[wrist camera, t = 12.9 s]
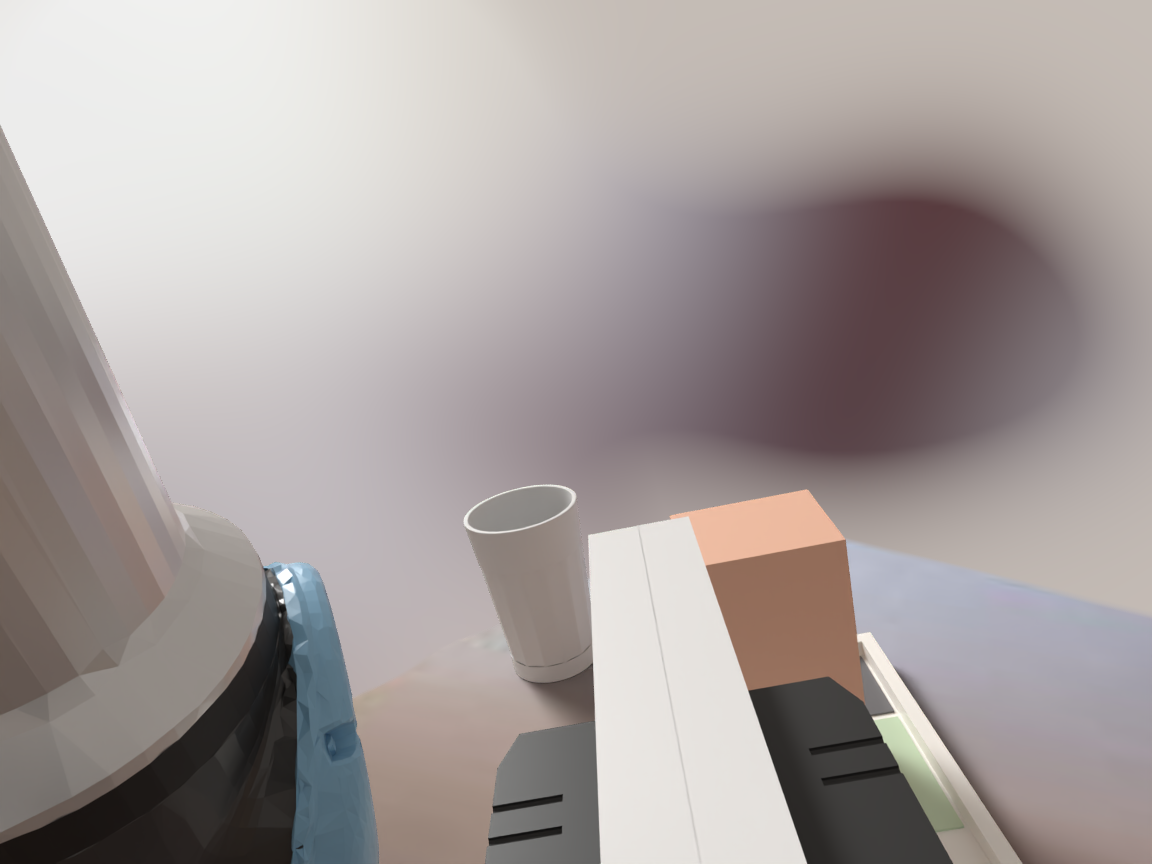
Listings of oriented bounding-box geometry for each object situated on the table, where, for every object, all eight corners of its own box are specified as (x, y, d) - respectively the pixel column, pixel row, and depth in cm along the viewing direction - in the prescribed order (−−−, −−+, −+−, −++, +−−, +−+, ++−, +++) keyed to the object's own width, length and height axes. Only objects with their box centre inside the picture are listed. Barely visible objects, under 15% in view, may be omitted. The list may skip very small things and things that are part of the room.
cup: (482, 665, 61) (442, 519, 57) (565, 616, 65) (533, 477, 62) (544, 704, 54) (504, 543, 51) (631, 647, 59) (599, 495, 55)
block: (732, 826, 39) (684, 569, 35) (712, 744, 45) (669, 515, 41) (876, 802, 39) (845, 539, 35) (838, 722, 45) (807, 489, 41)
